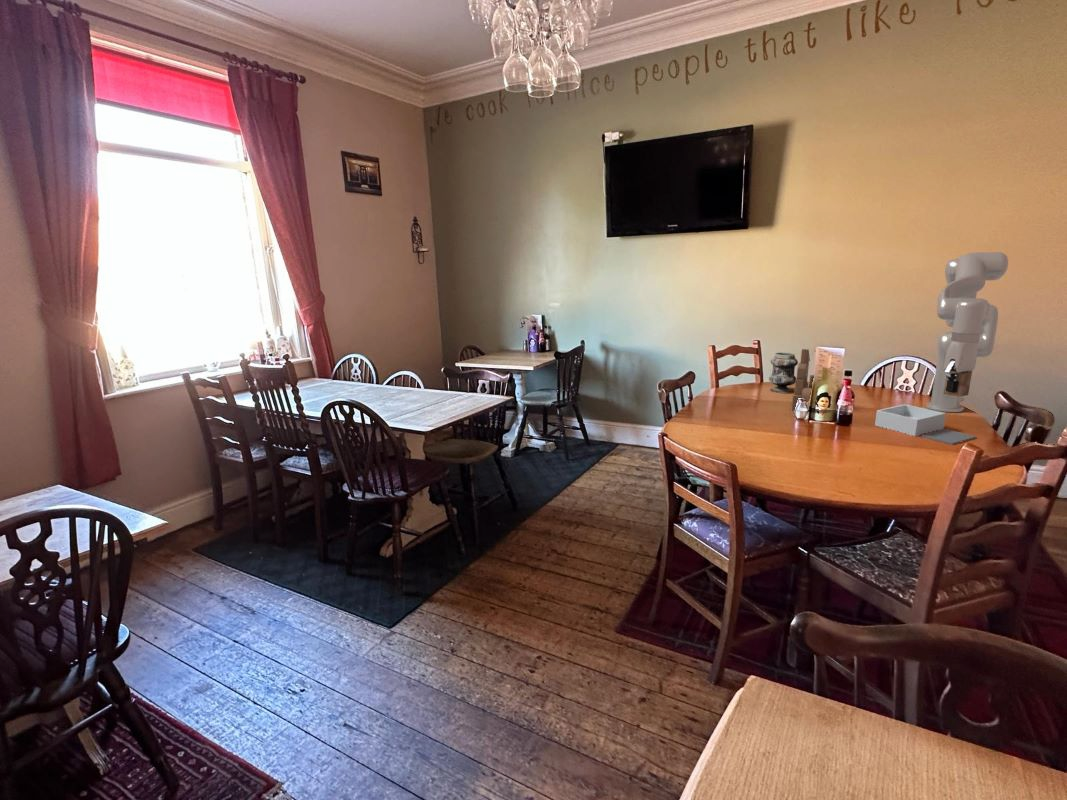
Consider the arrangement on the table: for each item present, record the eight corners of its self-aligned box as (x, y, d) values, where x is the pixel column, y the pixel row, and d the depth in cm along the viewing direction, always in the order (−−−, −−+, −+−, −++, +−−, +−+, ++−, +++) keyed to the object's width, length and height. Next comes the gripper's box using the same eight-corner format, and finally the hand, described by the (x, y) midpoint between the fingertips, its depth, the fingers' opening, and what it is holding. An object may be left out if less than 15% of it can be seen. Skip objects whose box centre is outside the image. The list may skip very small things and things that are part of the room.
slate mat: (944, 430, 197) (945, 428, 197) (976, 438, 188) (976, 436, 188) (920, 436, 191) (921, 435, 191) (951, 444, 182) (952, 443, 182)
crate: (902, 418, 211) (905, 404, 210) (943, 428, 198) (946, 413, 197) (874, 425, 205) (876, 410, 203) (914, 436, 192) (917, 420, 190)
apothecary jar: (799, 389, 260) (802, 352, 255) (790, 395, 251) (793, 356, 247) (773, 386, 268) (776, 350, 263) (763, 391, 259) (766, 354, 255)
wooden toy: (809, 412, 224) (815, 352, 217) (791, 410, 227) (797, 351, 221) (815, 403, 236) (821, 347, 229) (799, 402, 239) (804, 346, 233)
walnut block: (952, 392, 189) (955, 369, 187) (968, 395, 184) (972, 372, 182) (943, 393, 187) (947, 371, 185) (959, 396, 182) (963, 373, 180)
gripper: (967, 334, 187) (958, 385, 192) (937, 338, 181) (929, 391, 185) (993, 337, 181) (983, 390, 185) (962, 341, 174) (953, 396, 178)
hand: (956, 390), depth 185 cm, fingers closed on walnut block, 5 cm apart
